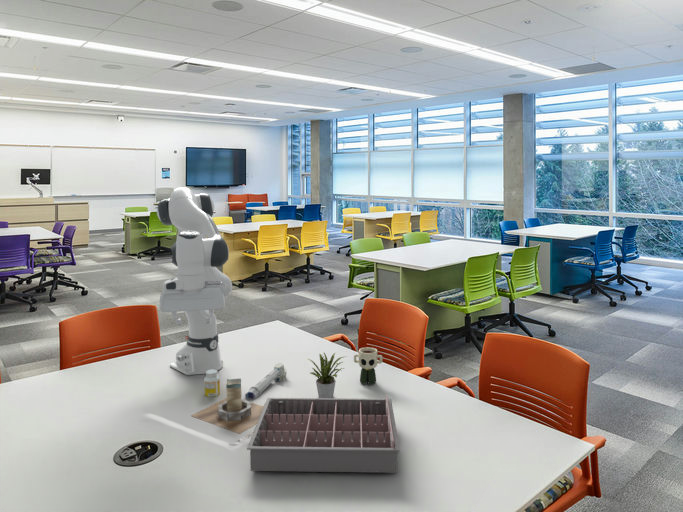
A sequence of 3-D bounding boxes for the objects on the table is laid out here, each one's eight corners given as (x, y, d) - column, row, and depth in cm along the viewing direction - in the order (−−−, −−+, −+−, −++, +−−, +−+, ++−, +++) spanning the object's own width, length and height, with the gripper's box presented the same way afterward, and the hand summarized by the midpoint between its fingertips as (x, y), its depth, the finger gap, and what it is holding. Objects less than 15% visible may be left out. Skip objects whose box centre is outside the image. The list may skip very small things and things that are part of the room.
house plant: (357, 397, 181) (357, 353, 179) (330, 410, 171) (329, 364, 169) (328, 386, 191) (328, 344, 188) (301, 397, 181) (301, 354, 178)
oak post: (227, 416, 164) (226, 384, 162) (228, 410, 168) (227, 379, 167) (241, 415, 165) (240, 383, 163) (242, 409, 169) (240, 378, 167)
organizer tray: (267, 420, 164) (267, 391, 163) (390, 422, 163) (391, 392, 162) (247, 477, 133) (246, 441, 131) (399, 479, 132) (400, 443, 130)
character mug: (353, 385, 191) (353, 353, 189) (354, 378, 198) (354, 346, 196) (381, 387, 190) (382, 354, 188) (382, 379, 197) (382, 347, 195)
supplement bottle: (210, 401, 178) (209, 375, 177) (201, 397, 182) (200, 371, 180) (223, 396, 182) (222, 371, 181) (214, 392, 186) (213, 367, 184)
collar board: (190, 419, 165) (190, 408, 164) (230, 399, 180) (230, 389, 179) (240, 437, 153) (239, 426, 153) (278, 414, 168) (278, 403, 168)
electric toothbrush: (242, 390, 178) (276, 358, 200) (244, 407, 180) (278, 373, 202) (255, 393, 176) (288, 360, 199) (257, 409, 178) (289, 375, 200)
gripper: (225, 278, 167) (227, 319, 169) (160, 281, 164) (163, 322, 166) (224, 282, 161) (225, 324, 163) (157, 285, 157) (159, 328, 160)
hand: (193, 323), depth 164 cm, fingers open, 8 cm apart
